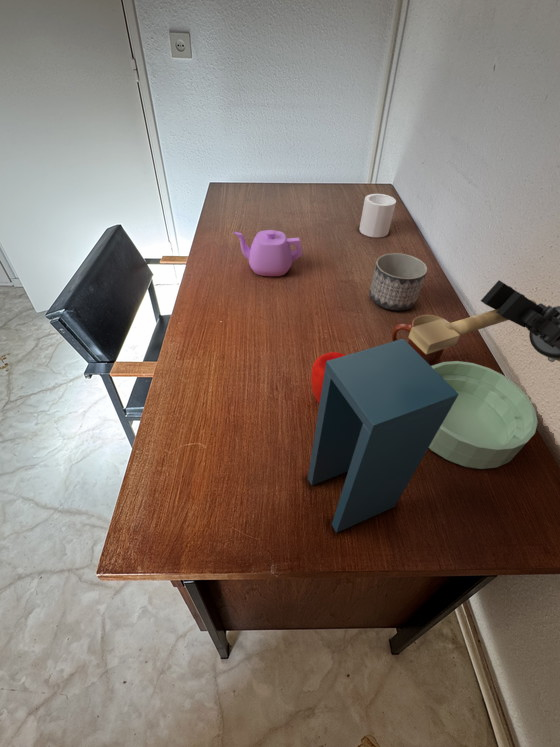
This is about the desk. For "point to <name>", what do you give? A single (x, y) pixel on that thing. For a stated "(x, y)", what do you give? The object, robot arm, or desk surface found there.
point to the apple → (321, 372)
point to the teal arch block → (376, 426)
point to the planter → (397, 281)
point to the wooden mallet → (450, 330)
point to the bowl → (483, 417)
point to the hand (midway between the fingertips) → (500, 298)
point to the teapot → (270, 252)
